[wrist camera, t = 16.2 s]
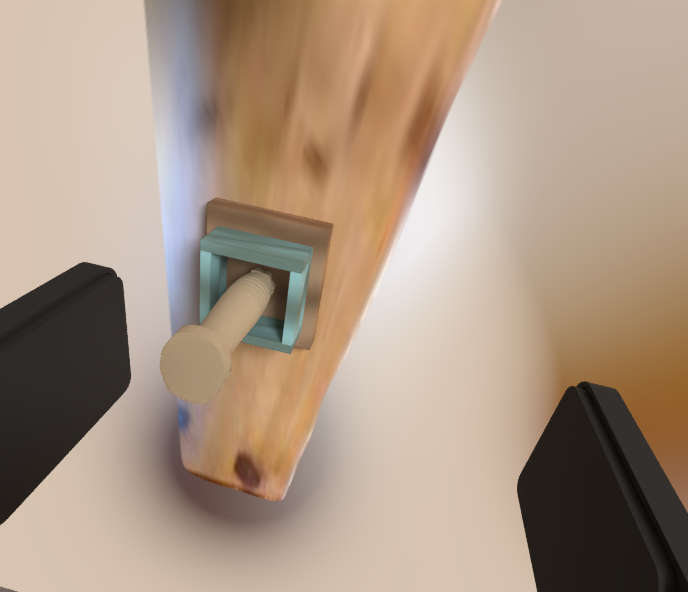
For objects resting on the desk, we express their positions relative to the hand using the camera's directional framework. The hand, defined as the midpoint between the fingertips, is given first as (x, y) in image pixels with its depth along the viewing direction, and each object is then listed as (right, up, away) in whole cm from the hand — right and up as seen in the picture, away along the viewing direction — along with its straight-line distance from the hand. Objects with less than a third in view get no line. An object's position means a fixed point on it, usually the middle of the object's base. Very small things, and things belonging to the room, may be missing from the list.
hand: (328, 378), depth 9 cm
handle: (-8, +3, +36) cm, 37 cm away
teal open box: (-8, +4, +38) cm, 39 cm away
